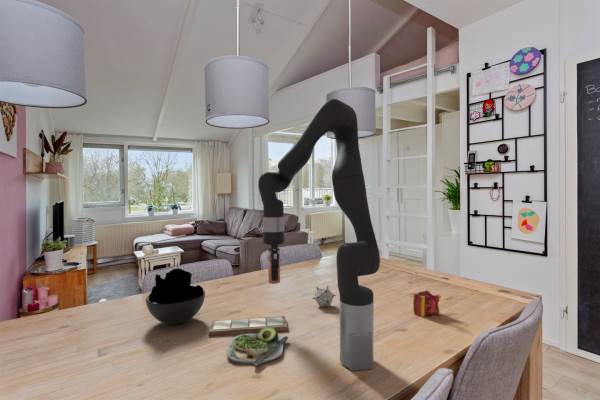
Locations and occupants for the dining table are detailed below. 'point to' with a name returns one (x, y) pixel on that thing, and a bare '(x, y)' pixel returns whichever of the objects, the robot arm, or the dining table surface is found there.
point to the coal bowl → (175, 297)
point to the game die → (323, 297)
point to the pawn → (270, 272)
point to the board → (246, 325)
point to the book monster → (426, 303)
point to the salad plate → (257, 346)
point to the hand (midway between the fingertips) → (274, 278)
